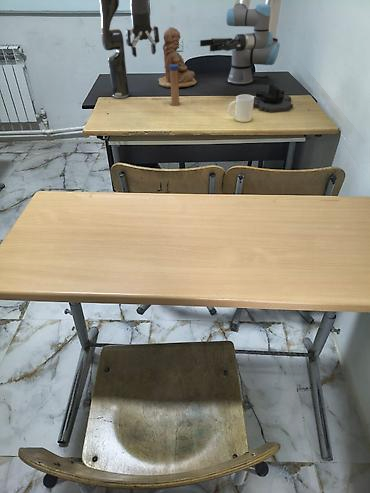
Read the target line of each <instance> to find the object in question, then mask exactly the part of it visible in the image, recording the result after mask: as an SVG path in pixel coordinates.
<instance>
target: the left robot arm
mask: <svg viewBox="0 0 370 493" xmlns="http://www.w3.org/2000/svg"><path fill="white" fill-rule="evenodd" d="M99 5H100V18H101V19H100V20H101V25H100V26H101V43H102V47H103V49H104V50H105V51H115V52H114V54H112V55H110V56H109V57H108V58H107V64H108V70H109V75H110V83H111V89H112V97H113V98H114V99H125V98H128V97H130V90H129V89H130V88H129V82H128V81H129V79H128V74H127V66H126V65H127V64H126V55H125V54H126V53H125V42H126V46H128V47H131V55H132V56H133V57H134V58H137V56H138V54H137V47H136V46H137V43H139V41H143V40H146V41H147V40H148V41H149V42H150V48H151V49H150V50H151V54H152V55H156V52H157V48H156V46H157V44H158V43H160V34H159V27H158V26H156V25H153V26H151V14H150V12H151V11H150V10H151V9H150V2H149V0H130V16H131V25H132V28H131V29H129V28H126V29H125V40H124V35H123V32H122V30H121V29H119V28H116V29H115V28H114V29H111V23H112V20H113V18H114V17H115V14H116V13H117V11H118V8H119V6H120V0H99ZM151 33H153V36H154V38H153V37H152V35H151ZM132 34H133V38H131V36H132ZM131 39H132V40H131ZM124 41H125V42H124Z"/></svg>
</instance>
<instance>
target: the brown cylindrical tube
mask: <svg viewBox="0 0 370 493" xmlns="http://www.w3.org/2000/svg"><path fill="white" fill-rule="evenodd" d="M170 82H171V87H170V100H171V101H170V102H171V105H172V106H179V105H180V89H179V88H180V87H179V83H178V70H170Z"/></svg>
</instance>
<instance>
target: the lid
mask: <svg viewBox="0 0 370 493" xmlns="http://www.w3.org/2000/svg"><path fill="white" fill-rule="evenodd" d="M178 69H179V65H178V64H171V65H169V70H178Z"/></svg>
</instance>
